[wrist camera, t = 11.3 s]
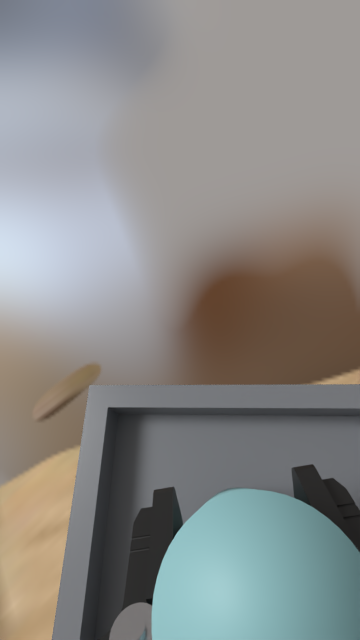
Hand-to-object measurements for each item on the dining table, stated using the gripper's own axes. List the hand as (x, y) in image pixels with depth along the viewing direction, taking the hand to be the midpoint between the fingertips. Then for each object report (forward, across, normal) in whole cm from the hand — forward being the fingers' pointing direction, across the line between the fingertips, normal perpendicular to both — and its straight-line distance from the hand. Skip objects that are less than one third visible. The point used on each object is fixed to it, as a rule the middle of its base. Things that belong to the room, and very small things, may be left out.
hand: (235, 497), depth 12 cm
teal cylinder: (+2, 0, +5) cm, 5 cm away
